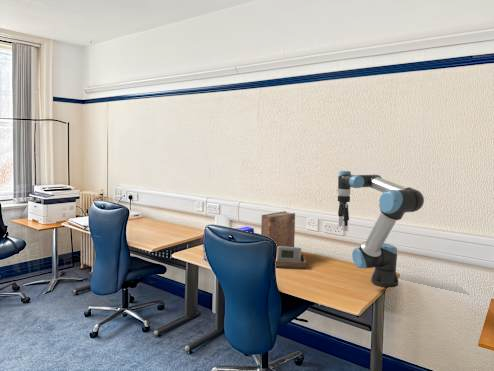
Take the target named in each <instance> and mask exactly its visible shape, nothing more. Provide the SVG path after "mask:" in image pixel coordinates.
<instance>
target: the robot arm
mask: <svg viewBox="0 0 494 371" xmlns="http://www.w3.org/2000/svg"><path fill="white" fill-rule="evenodd" d="M337 180H338V181H337V190H336V191H337V202H338V203H339V204H338V210H337V211H338V212H337V215H338V225H337V226H338V227H340V228H341V227H342V231H343V232H348V230H349V221H350V214H349V212H350V211H349V204H347V203H350V202H351V188H353V189H361V188H371V189H373V190H376V191H377V192H381V193H382V194H381V195H380V197H379V200H378V202H379V203H378V207H379V211H380V214H379V216H378V218H377V219H376V222H375V223H374V226H373V227H372V229H371V231H370V233H369V235H368V236H367V238H366V240H365V241H362V243H361V244H360V246H359V247H355V248H354V249H353V250H352V252H351V253H352V254H351V255H352V257H351V258H352V261H353V263H354V266H356V268H358V269H360V270H361V269H371V268H374V270H373V273H372V275H371V277H370V282H371V283H372V284H373V285H375V286H378V287H383V288H396V287H398V286H399V278H398V275H397V259H398V248H397V247H396V246H395V245H392V244H390V243H385V241H386V240H387V238H388V237H389V235H390V233H391V231H392V229H393V228H394V226H395V224H396V222H397V221H400V220H401V219H402V218H403V217H404V214H406V213H414V212H418V211H419V210H420V209H422V208H423V206H424V202H425V197H424V195H423V194H422V192H421V191H419V190H417V189H415V188H412V187H409V186H408V187H405V186H403V185H399V184H396V183H394V182H393V181H392V182H391V181H390V180H387V179H384V178H382V176H381V175H380V174H352V172H351V170H339V172H338V177H337Z"/></svg>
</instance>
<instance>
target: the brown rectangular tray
mask: <svg viewBox="0 0 494 371" xmlns="http://www.w3.org/2000/svg"><path fill="white" fill-rule="evenodd" d="M279 267H280V269H281V268H282V269H283V268H284V269H304V270H306V269H307V260H306V256H305V254H301V262H290V261H276V267H275V268H279Z"/></svg>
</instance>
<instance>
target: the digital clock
mask: <svg viewBox="0 0 494 371" xmlns="http://www.w3.org/2000/svg"><path fill="white" fill-rule="evenodd" d="M301 255H302V248H301V247H297V246H294V247H286V246H284V247H283V246H278V247H277V261H290V262H301Z"/></svg>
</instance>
